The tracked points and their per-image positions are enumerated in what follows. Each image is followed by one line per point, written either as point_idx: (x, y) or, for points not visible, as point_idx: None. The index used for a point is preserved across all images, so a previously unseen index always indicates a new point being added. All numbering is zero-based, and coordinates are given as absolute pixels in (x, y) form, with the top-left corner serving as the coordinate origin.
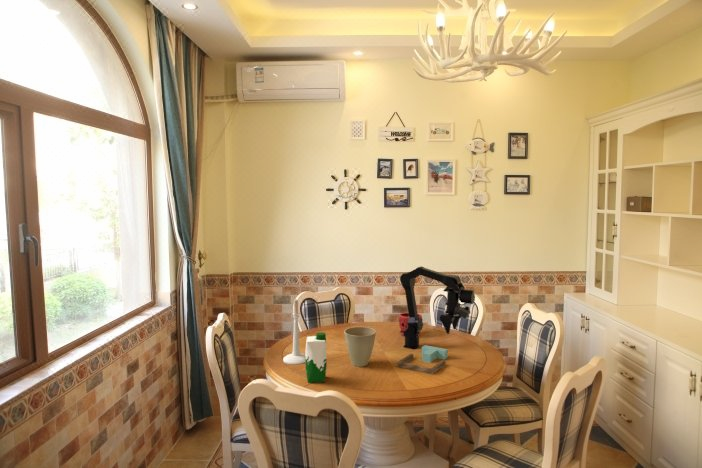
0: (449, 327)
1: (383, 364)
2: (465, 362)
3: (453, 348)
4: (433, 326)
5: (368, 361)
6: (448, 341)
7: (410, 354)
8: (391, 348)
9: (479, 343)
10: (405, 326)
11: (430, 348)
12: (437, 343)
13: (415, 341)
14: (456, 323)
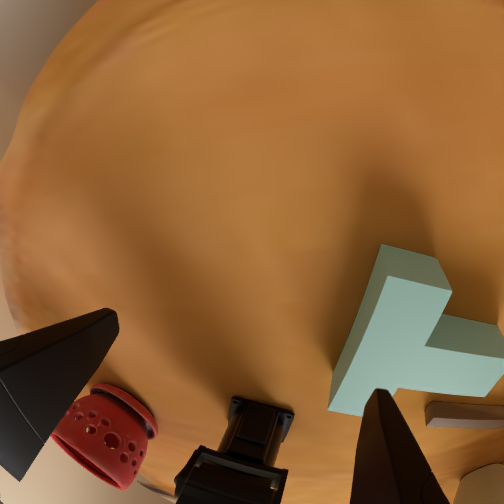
0: (438, 483)
1: (494, 443)
2: (450, 97)
3: (167, 228)
4: (18, 326)
5: (496, 471)
6: (85, 270)
7: (439, 424)
8: (316, 461)
9: (35, 114)
10: (142, 456)
11: (392, 382)
12: (142, 321)
13: (270, 438)
14: (49, 354)
